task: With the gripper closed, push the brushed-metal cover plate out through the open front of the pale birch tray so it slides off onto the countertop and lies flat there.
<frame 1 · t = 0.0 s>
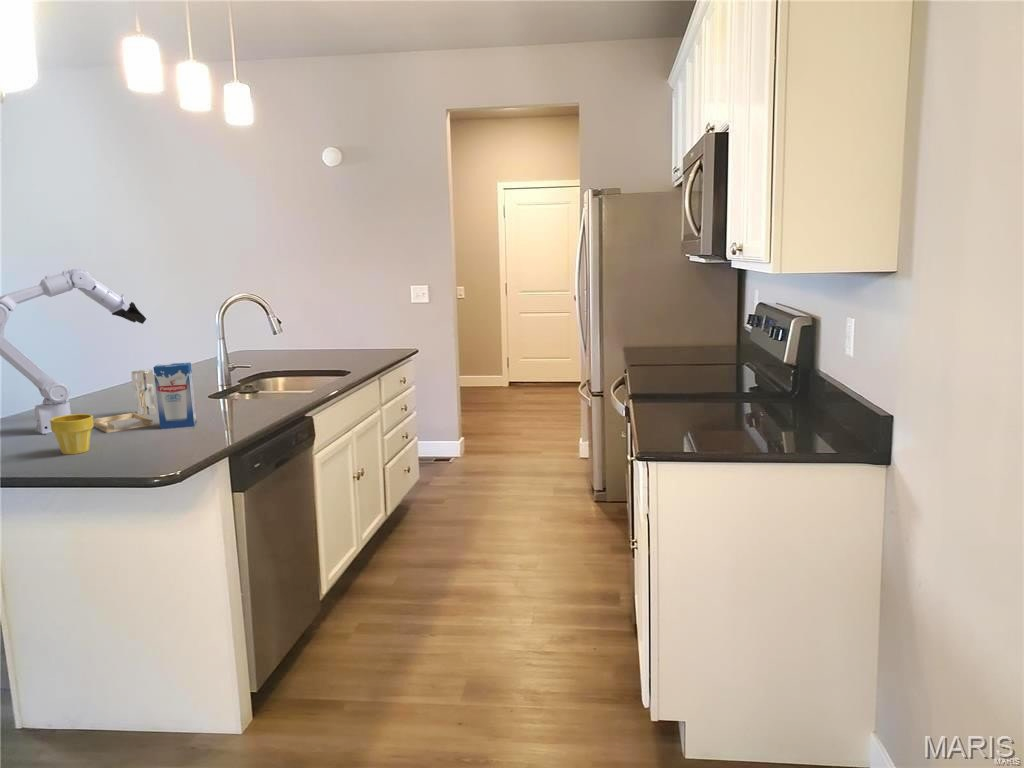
hand: (140, 320, 251), 32 cm above the countertop, tool tilted 50°, fingers open, 7 cm apart
milk carton: (179, 428, 237), on the countertop
plant pot: (76, 452, 211), on the countertop
tray: (121, 426, 240), on the countertop
cover plate: (124, 426, 238), point 1 cm above the countertop, touching tray
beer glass: (147, 415, 258), on the countertop
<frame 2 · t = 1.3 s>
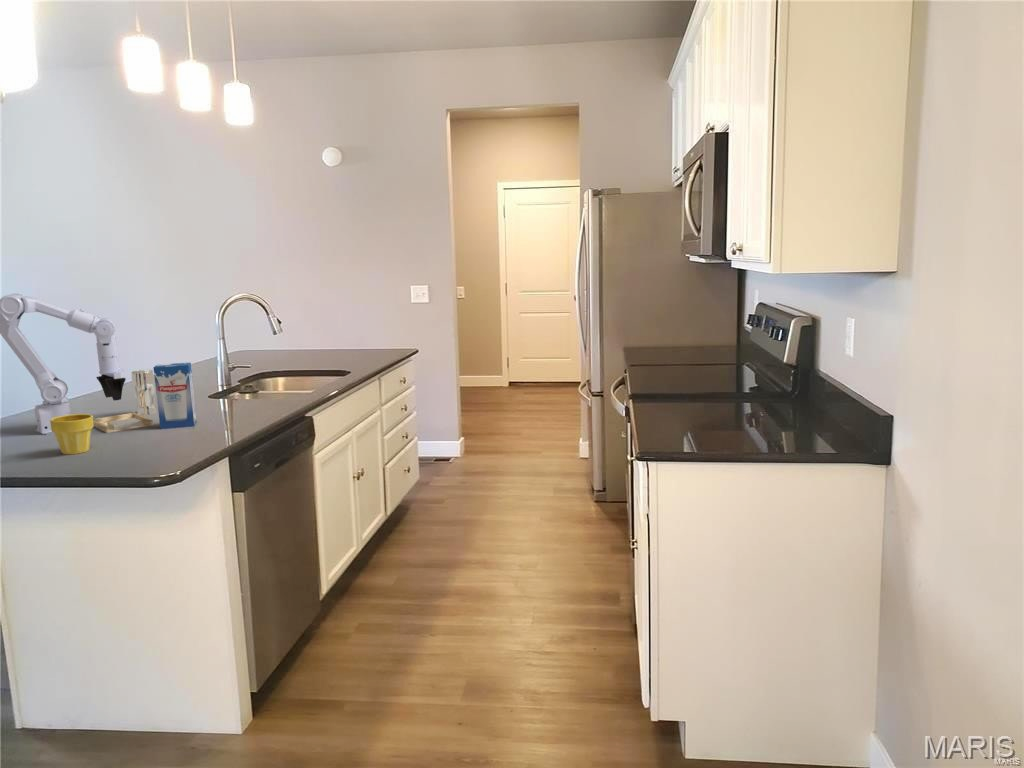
hand: (113, 398, 243), 8 cm above the countertop, tool pointing down, fingers open, 7 cm apart
nothing on the countertop moved.
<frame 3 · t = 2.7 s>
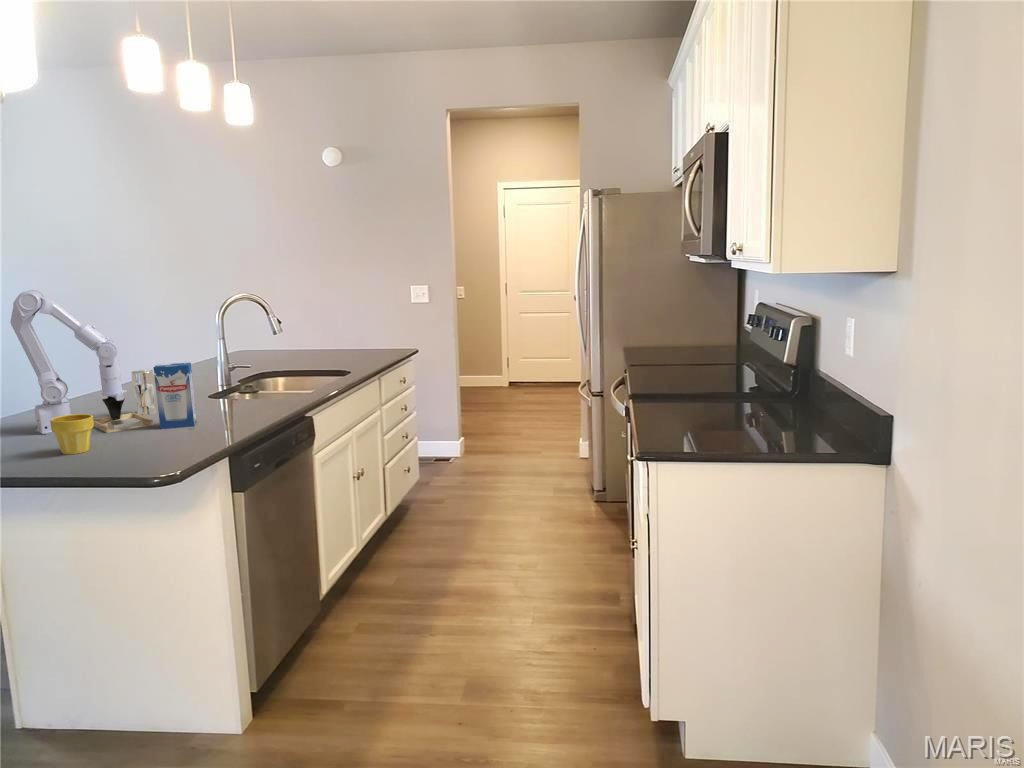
hand: (116, 419, 244), 1 cm above the countertop, tool pointing down, fingers closed
nothing on the countertop moved.
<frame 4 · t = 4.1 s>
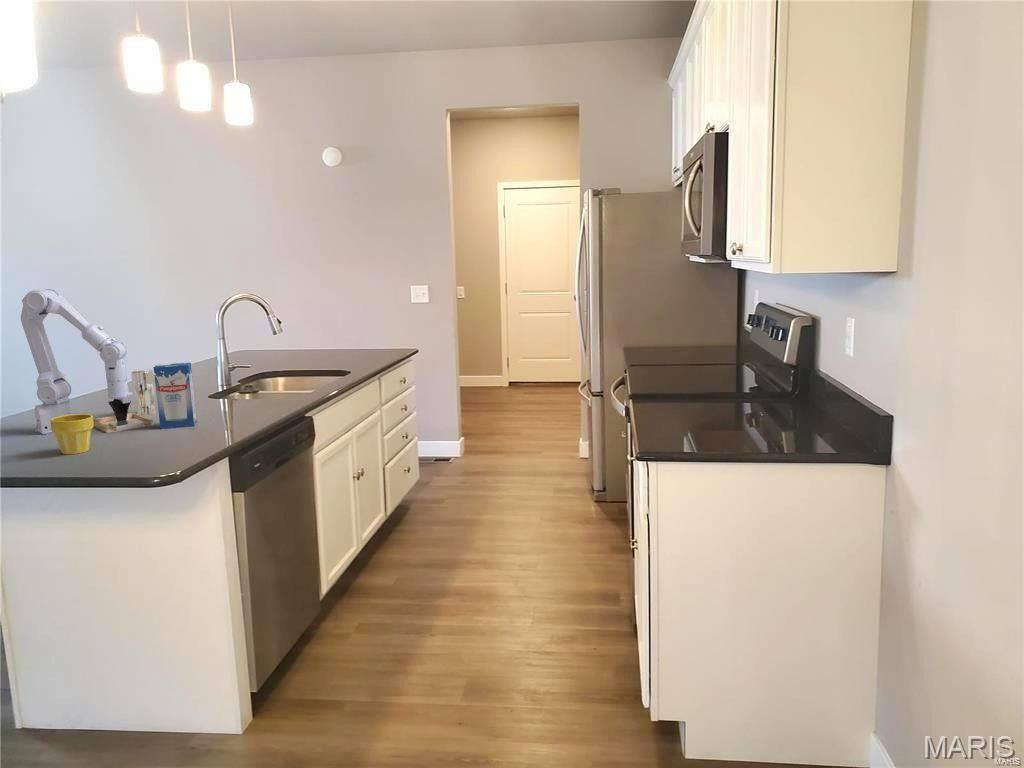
hand: (122, 422, 240), 1 cm above the countertop, tool pointing down, fingers closed
cover plate: (126, 427, 237), point 1 cm above the countertop, touching gripper, tray
everything else where it was.
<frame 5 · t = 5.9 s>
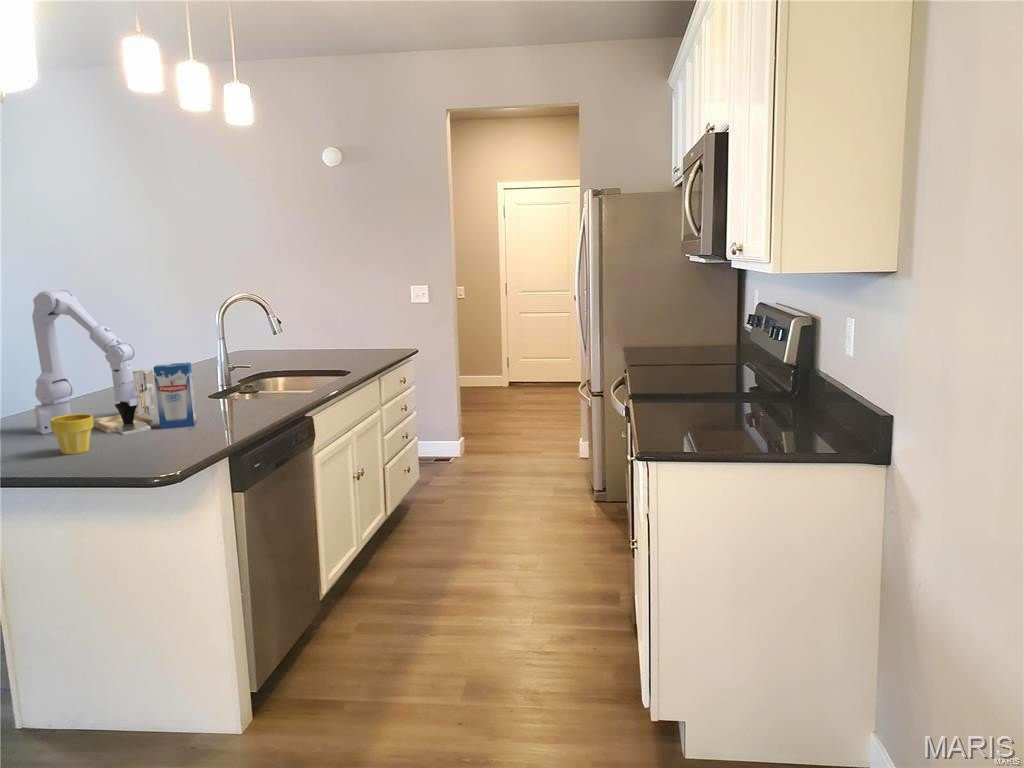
hand: (128, 425, 235), 1 cm above the countertop, tool pointing down, fingers closed
cover plate: (133, 431, 232), on the countertop, tilted 6°, touching gripper
everything else where it was.
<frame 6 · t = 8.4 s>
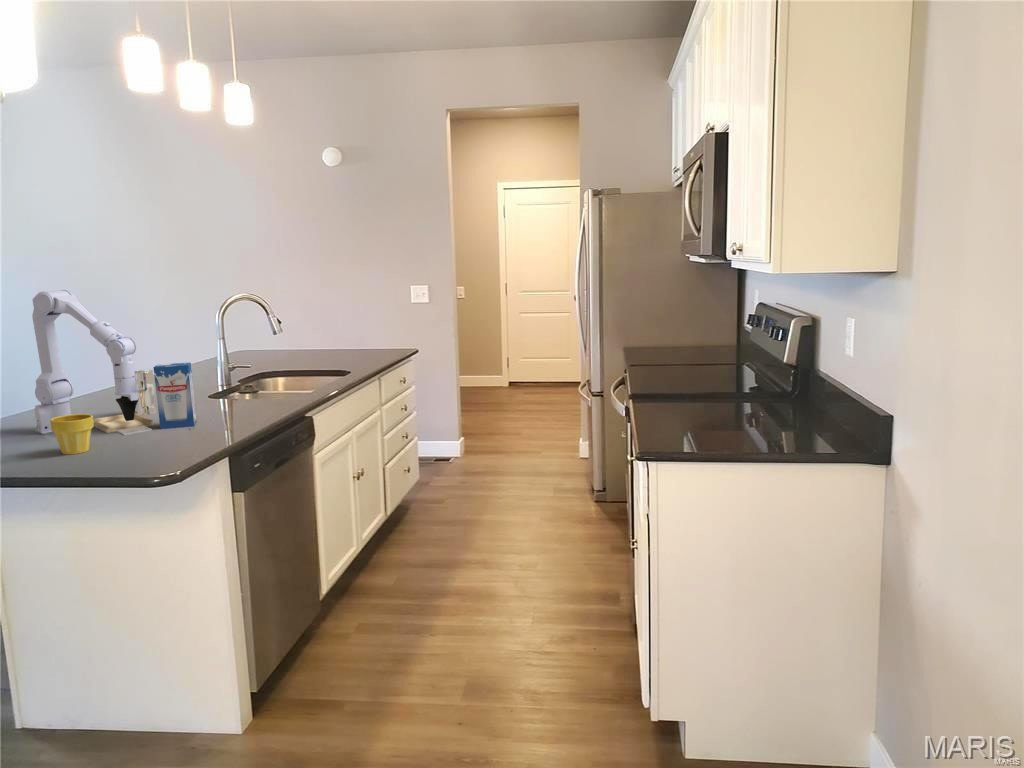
hand: (129, 420, 234), 3 cm above the countertop, tool pointing down, fingers closed
cover plate: (134, 434, 232), on the countertop
everything else where it was.
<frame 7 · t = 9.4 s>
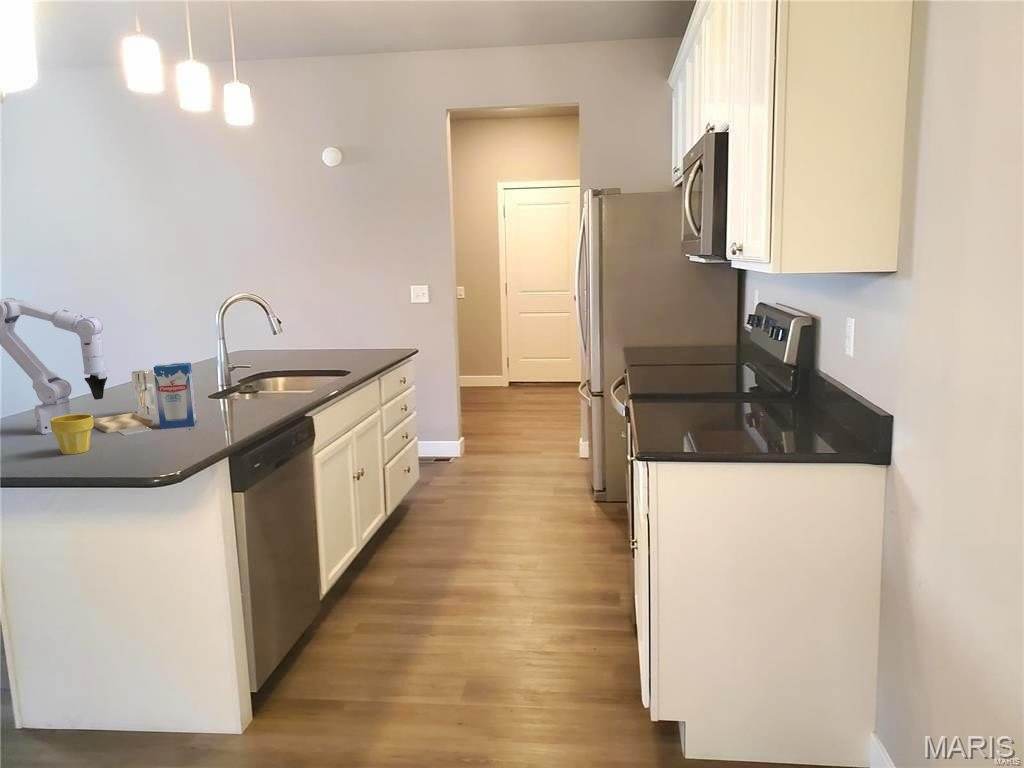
hand: (98, 399, 238), 9 cm above the countertop, tool pointing down, fingers closed
nothing on the countertop moved.
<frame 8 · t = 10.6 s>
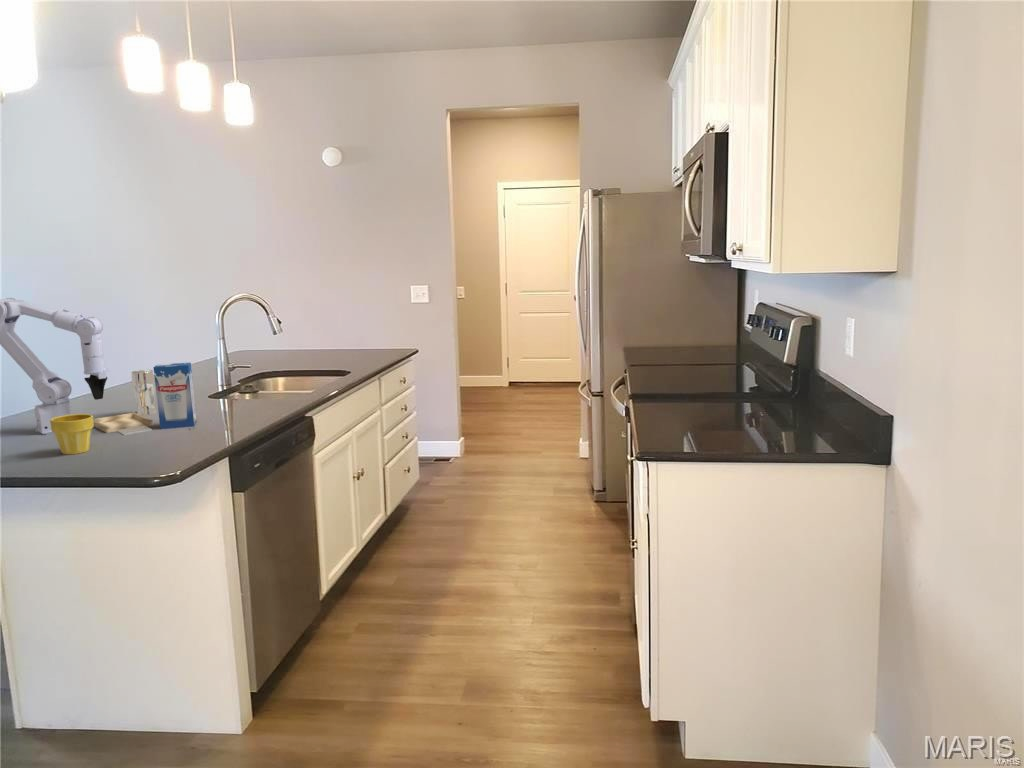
hand: (98, 399, 238), 9 cm above the countertop, tool pointing down, fingers closed
nothing on the countertop moved.
at the end: cover plate inside the target area (3.6 cm from its centre), on the countertop; cover plate touching countertop; cover plate tilted 0° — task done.
